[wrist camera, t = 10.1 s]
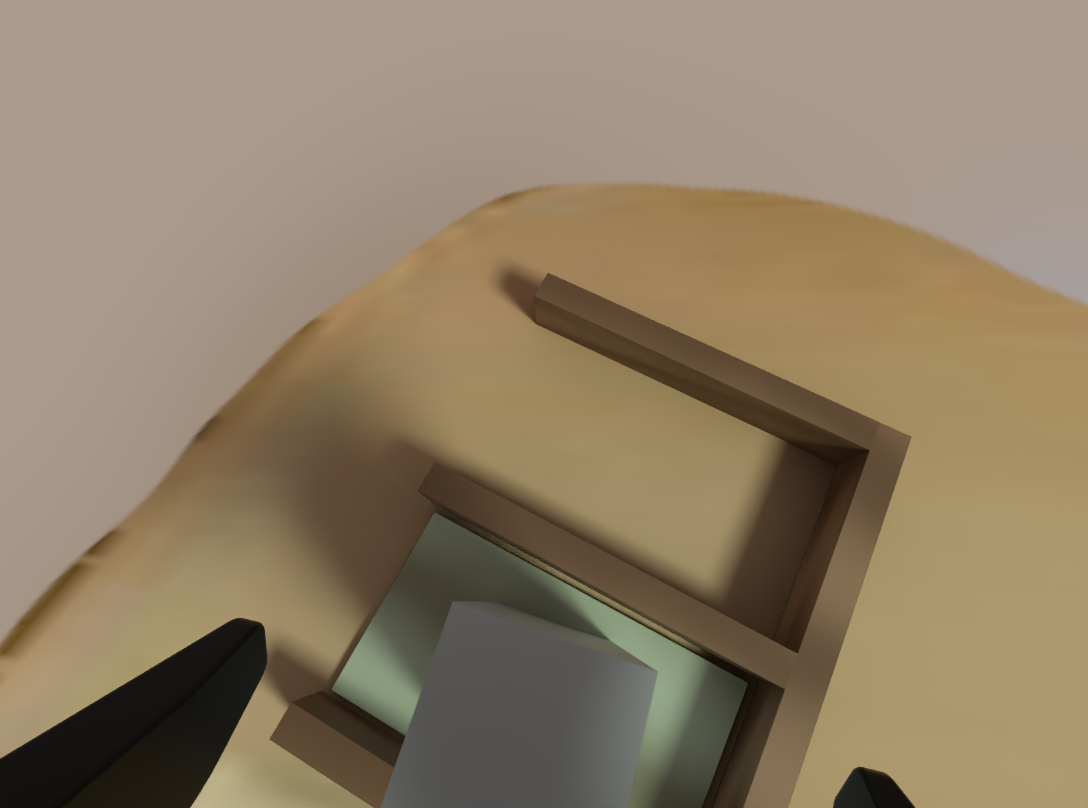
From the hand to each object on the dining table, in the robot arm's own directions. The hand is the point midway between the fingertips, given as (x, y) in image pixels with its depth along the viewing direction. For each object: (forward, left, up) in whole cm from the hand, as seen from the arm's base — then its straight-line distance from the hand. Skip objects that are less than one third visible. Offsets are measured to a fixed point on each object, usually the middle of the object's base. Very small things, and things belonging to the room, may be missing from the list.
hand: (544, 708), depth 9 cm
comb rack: (+3, 0, -14) cm, 14 cm away
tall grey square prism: (-1, 0, -13) cm, 13 cm away
